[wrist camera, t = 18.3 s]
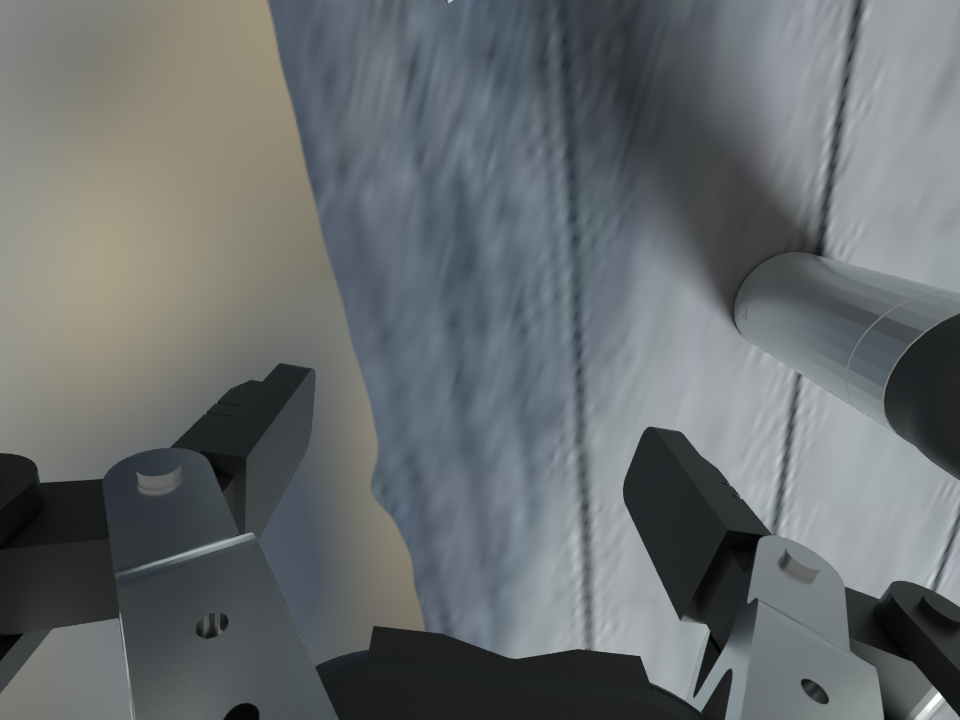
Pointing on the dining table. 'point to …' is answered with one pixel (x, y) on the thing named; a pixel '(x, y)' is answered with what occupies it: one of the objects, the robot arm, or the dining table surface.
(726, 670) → the robot arm
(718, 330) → the dining table surface
